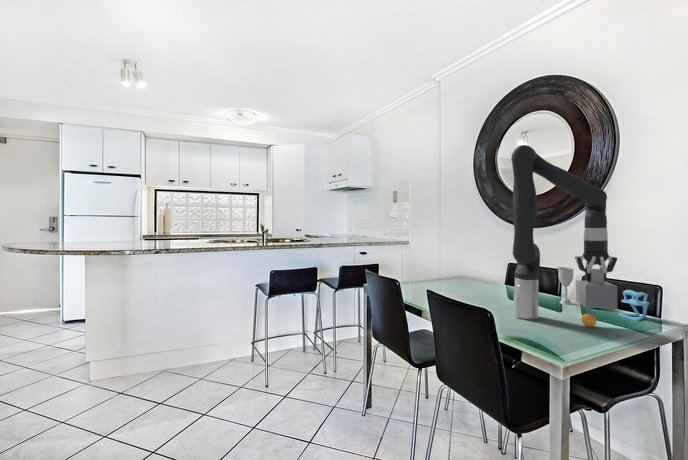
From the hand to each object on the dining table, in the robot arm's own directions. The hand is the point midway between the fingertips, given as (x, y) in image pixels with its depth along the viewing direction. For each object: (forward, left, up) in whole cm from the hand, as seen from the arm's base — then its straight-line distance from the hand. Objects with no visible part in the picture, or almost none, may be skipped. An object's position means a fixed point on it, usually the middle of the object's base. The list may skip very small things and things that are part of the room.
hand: (595, 281), depth 130 cm
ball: (-2, 0, -16) cm, 16 cm away
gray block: (0, 0, -9) cm, 9 cm away
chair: (+21, +18, -18) cm, 33 cm away
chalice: (+1, +38, -18) cm, 42 cm away
